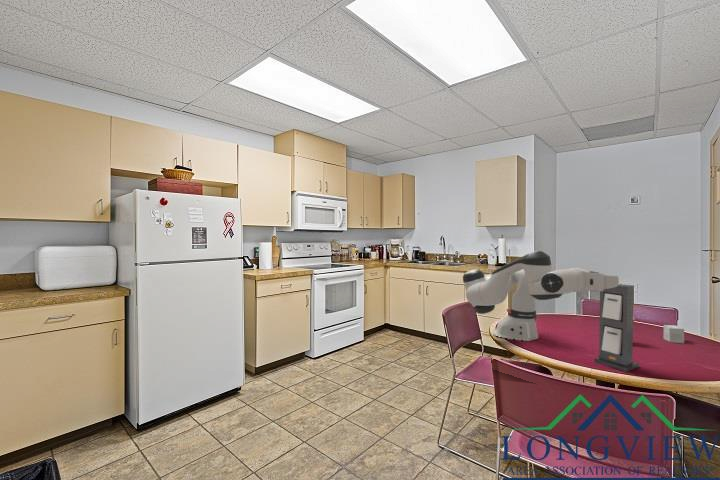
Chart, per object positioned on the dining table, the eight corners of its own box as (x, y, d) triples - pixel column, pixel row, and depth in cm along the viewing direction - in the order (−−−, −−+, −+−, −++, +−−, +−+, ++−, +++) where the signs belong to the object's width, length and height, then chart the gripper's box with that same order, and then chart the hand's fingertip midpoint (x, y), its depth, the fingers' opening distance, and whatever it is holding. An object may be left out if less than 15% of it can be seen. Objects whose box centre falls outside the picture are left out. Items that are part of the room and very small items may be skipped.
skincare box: (684, 343, 167) (684, 328, 167) (669, 342, 169) (669, 327, 169) (677, 339, 173) (677, 325, 173) (662, 338, 175) (663, 324, 175)
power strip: (627, 372, 135) (628, 287, 134) (594, 361, 146) (595, 283, 145) (639, 366, 140) (640, 285, 139) (606, 357, 151) (607, 281, 150)
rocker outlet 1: (617, 354, 137) (621, 329, 138) (601, 349, 143) (604, 326, 143) (620, 354, 138) (623, 330, 139) (603, 350, 144) (606, 326, 144)
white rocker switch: (618, 320, 137) (621, 295, 138) (601, 316, 142) (604, 293, 143) (620, 320, 138) (623, 296, 139) (604, 317, 143) (607, 293, 144)
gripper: (549, 283, 136) (569, 281, 143) (606, 292, 118) (626, 288, 125) (549, 268, 136) (569, 266, 142) (606, 274, 118) (626, 271, 124)
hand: (596, 276), depth 133 cm, fingers closed
